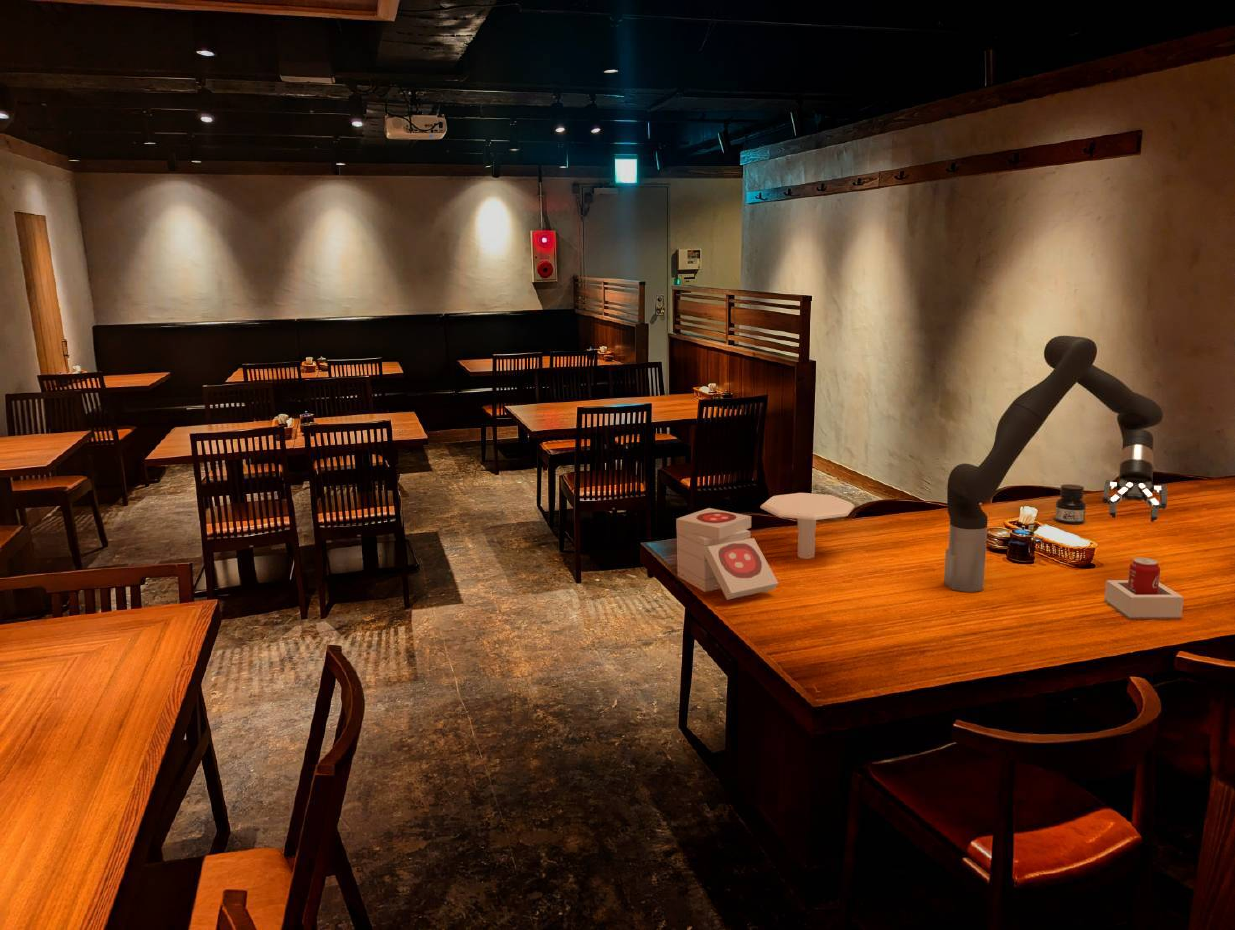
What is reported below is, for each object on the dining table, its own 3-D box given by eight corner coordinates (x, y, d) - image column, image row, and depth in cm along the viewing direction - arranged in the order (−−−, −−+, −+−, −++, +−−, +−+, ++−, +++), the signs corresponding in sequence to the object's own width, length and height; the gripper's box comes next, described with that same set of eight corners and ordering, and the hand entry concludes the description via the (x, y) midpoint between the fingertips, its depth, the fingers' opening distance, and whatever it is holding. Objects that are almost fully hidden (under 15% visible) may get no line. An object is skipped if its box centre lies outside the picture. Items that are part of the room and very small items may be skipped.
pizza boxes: (725, 608, 217) (725, 541, 214) (668, 574, 244) (667, 514, 240) (785, 595, 225) (786, 530, 222) (724, 564, 252) (724, 505, 248)
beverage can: (1160, 612, 205) (1165, 565, 203) (1131, 611, 206) (1136, 564, 204) (1149, 603, 211) (1154, 557, 209) (1122, 602, 213) (1126, 556, 210)
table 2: (816, 578, 237) (818, 521, 234) (740, 556, 258) (740, 503, 254) (872, 555, 255) (874, 502, 252) (797, 537, 276) (797, 487, 272)
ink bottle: (1051, 522, 284) (1054, 487, 281) (1055, 516, 291) (1058, 482, 288) (1084, 526, 278) (1087, 491, 276) (1087, 520, 285) (1090, 485, 283)
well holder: (1129, 619, 203) (1131, 597, 202) (1104, 600, 215) (1106, 580, 214) (1181, 618, 202) (1183, 597, 201) (1153, 600, 214) (1155, 579, 213)
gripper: (1106, 455, 224) (1102, 507, 217) (1170, 460, 218) (1168, 513, 210) (1104, 471, 230) (1100, 522, 223) (1166, 476, 223) (1164, 529, 216)
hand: (1133, 518), depth 216 cm, fingers open, 8 cm apart
